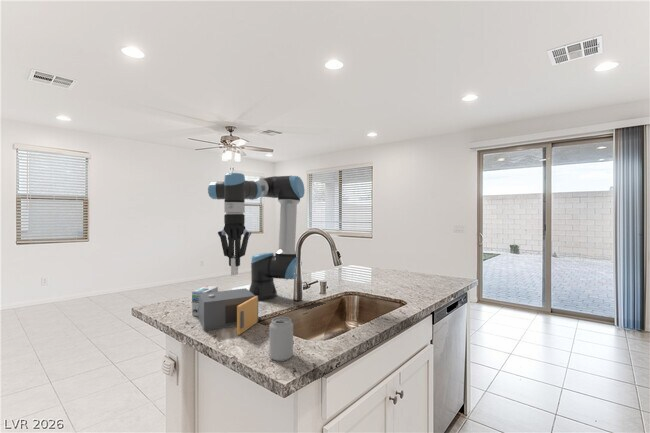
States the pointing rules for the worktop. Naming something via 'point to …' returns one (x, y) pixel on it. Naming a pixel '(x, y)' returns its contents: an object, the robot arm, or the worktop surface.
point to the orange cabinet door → (247, 314)
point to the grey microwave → (221, 308)
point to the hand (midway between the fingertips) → (234, 274)
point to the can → (281, 338)
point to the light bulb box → (196, 297)
